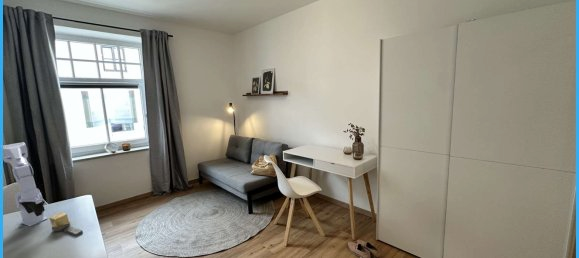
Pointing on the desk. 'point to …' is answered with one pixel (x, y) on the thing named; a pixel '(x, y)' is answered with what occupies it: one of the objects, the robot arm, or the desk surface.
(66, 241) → the desk surface
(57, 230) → the ratchet
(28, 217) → the robot arm
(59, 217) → the brushed gold cube
